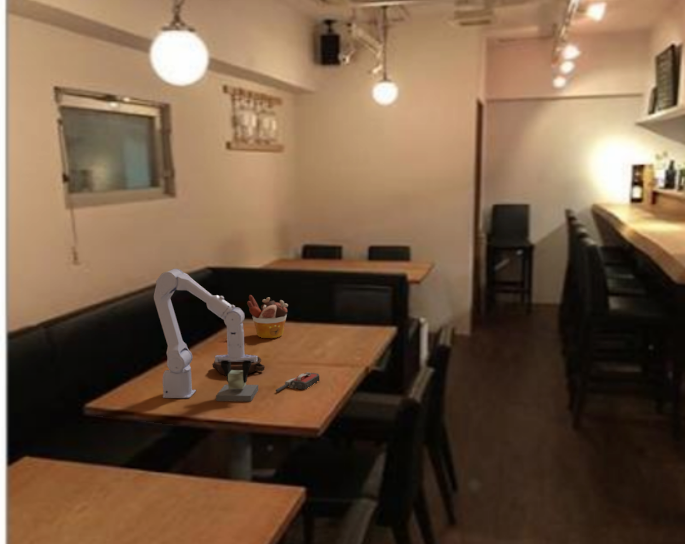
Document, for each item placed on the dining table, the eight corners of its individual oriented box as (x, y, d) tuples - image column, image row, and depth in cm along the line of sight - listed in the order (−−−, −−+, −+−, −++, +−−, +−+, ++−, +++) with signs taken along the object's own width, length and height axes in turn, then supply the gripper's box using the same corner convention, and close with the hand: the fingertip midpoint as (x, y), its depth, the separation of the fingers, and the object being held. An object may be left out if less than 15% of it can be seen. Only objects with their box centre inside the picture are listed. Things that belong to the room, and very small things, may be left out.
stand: (216, 401, 227) (215, 395, 226) (225, 389, 238) (225, 384, 238) (250, 401, 226) (250, 395, 225) (258, 390, 237) (258, 384, 237)
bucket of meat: (293, 332, 324) (292, 292, 322) (284, 341, 308) (283, 298, 306) (254, 331, 328) (252, 291, 325) (243, 339, 312) (241, 298, 309)
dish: (255, 380, 250) (255, 367, 249) (202, 376, 256) (201, 364, 255) (272, 367, 267) (272, 355, 266) (221, 364, 272) (221, 352, 272)
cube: (228, 388, 229) (227, 374, 228) (232, 384, 234) (231, 370, 233) (242, 388, 229) (242, 374, 228) (246, 384, 234) (245, 370, 233)
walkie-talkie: (301, 378, 252) (273, 394, 234) (301, 367, 251) (273, 382, 233) (322, 381, 248) (295, 397, 230) (322, 369, 247) (295, 385, 230)
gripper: (211, 346, 226) (213, 385, 228) (253, 346, 225) (255, 385, 227) (217, 341, 233) (219, 379, 235) (258, 341, 232) (259, 379, 234)
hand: (237, 381), depth 231 cm, fingers closed on cube, 5 cm apart
